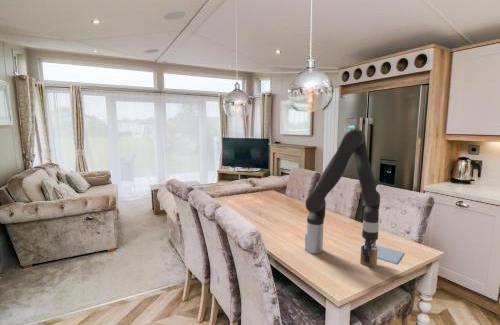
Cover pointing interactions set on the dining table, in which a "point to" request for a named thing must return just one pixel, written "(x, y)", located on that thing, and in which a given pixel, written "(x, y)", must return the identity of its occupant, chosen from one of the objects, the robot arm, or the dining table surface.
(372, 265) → the slab
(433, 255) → the dining table surface
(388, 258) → the mat
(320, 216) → the robot arm
